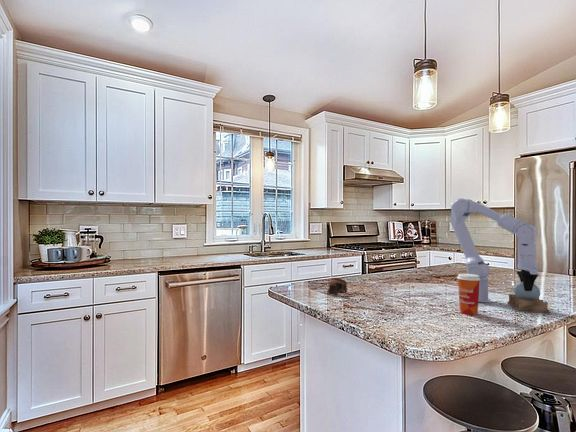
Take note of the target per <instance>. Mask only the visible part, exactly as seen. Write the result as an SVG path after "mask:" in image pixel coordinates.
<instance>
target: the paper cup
mask: <svg viewBox="0 0 576 432" xmlns="http://www.w3.org/2000/svg"><path fill="white" fill-rule="evenodd" d="M456 279H457V285H458V286H457V287H458V298H459V299H458V300H459V311H460V313H461V314H462V315H467V316H477V315H478V311H479V302H478V300H479V282H480V280H481V279H480V278H479V275H474V274H467V273H458V274H457V276H456Z"/></svg>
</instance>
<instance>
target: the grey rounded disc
mask: <svg viewBox="0 0 576 432" xmlns="http://www.w3.org/2000/svg"><path fill="white" fill-rule="evenodd" d="M513 291H514V292H513V293H514V294H515V295H516V297H517V298H523V299H538V298H539V299H540V296H541V291H540V288H539V286H537V284H535V283H534V285H533V289H532V291H525V289H524V284H523V282H521V281H520V282H518V283H517V284H516V285H515V287H514V289H513Z"/></svg>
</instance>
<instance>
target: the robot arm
mask: <svg viewBox="0 0 576 432" xmlns="http://www.w3.org/2000/svg"><path fill="white" fill-rule="evenodd" d="M450 210H451V215H450V220H449V221H450V224H451V227H452V229H453V231H454V234H455V235H456V238H457V240H458V243H459V245H460V247H461V250H462V253H463V255H464V258H465V266H466V274H474V275H479V278H480V279H481V280H480V282H479V300H478V303H488V304H489V303H490V304H491V303H492V301H491V300H490V298H489V278H488V276H489V275H490V273H491V271H490V270H491V269H490V267H489V266H488V265H487V264H486V263H485V261H484V259H483V258H482V257H481V256H480V254H479V252H478V250H477V247H476V245H475V243H474V240H473V238H472V236H471V234H470V231H469V229H468V227H467V224H466V220H467V218H468V216H469V215H471V214H472V213H479V214H481V215H483V216H485V217H486V218H489V219H491V220H493V221H496V223H497V226H498V227H499V228H502V229H503V230H506V231H507V232H509V233H512V235H513V234H514V235H515V236H516V237H517V265H516V266H517V269H518V270H517V271H516V274H517V276H518V278H519V281H520V282H523V284H524V289H525V291H532V289H533V285H534V284H535V282H536V280H537V278H538V277H539V273H538V270H540V269H541V268H540V266H537V245H536V244H537V243H536V236H537V235H538V230H537V228H536V227H535V226H534V225H533V224H531V223H530V224H529V223H527V221H525V220H520V219H518V218H516V217H514V216H515V215H513V214H511V213H509V214H507V213H505V214H504V213H503V214H501V213H499V212H497V211H496V210H494V209H491V207H488V206H486V205H484V204H482V203H480V202H478V201H474V200H472V199H469V198H457V199H456V200H454V202H453V203H452V204H451V206H450ZM526 223H527V224H526ZM519 270H520V271H519Z"/></svg>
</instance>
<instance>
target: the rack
mask: <svg viewBox="0 0 576 432" xmlns="http://www.w3.org/2000/svg"><path fill="white" fill-rule="evenodd" d="M548 303H549V302H547V301H544V299H540V297H539V298H538V299H523V298H517V297H516V295H515V293H509V294H508V301H507V305H508V306H510V308H511V307H512V308H513V309H514V310H516V311H517V312H523V311H525V313H526V312H527V313H538V314H550V310H549V309H548V307H549V306H548Z"/></svg>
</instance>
